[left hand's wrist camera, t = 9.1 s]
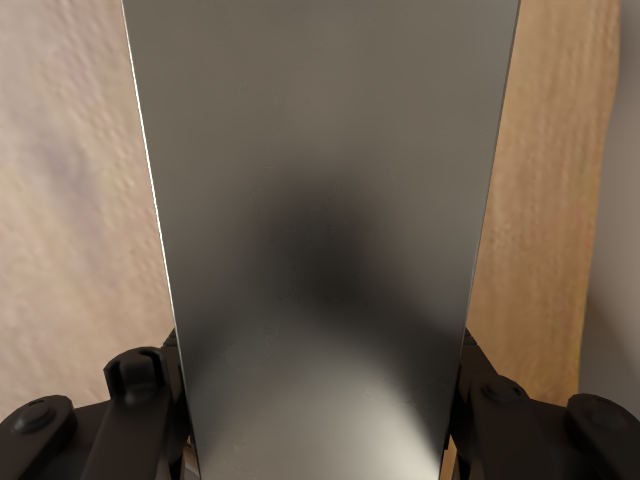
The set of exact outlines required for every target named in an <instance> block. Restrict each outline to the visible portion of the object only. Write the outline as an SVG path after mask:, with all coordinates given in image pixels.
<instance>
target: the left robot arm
mask: <svg viewBox="0 0 640 480" xmlns="http://www.w3.org/2000/svg"><path fill="white" fill-rule="evenodd" d="M103 371H104V374H105V378H106V382H107V386H108V389H109V393H110V397H111V399H110V400H108V401H105V402H101V403H97V404H93V405H89V406H85V407H80V408H76V409H74V407H73V404H72V401H71V400H70V399H69V398H68V397H66V396H61V395H53V396H46V397H42V398H39V399H36V400H34V401H31V402H29V403H27V404H25V405H24V406H22V407H20V408H18V409H17V410H15V411H14V412H13V413H12V414H10V415H9V416H8V417H7V418H5V419H4V420H3V422H2V423H1V424H0V480H200V476H199V470H198V464H197V458H196V452H195V446H194V440H193V434H192V428H191V422H190V416H189V410H188V404H187V398H186V392H185V386H184V380H183V374H182V368H181V362H180V356H179V350H178V344H177V338H176V332H175V327H174V329H173V330H172V332H171V333H170V335H169V338H167V339H166V341H165V342H164V344H163V347H161V348H156V347H139V348H135V349H131V350H128V351H126V352H124V353H122V354H119V355H118V356H116V357H115V358H114V359H112V360H111V361H109V362H108V364H107V365H106V367H105V368H104V369H103ZM450 434H451V436H452V439H453V441H454V444H455V446H456V448H457V453H456V458H455V464H454V469H453V474H452V480H640V422H639V421H638V420H637V419H636V418H635V417H634V416H633V415H632V414H631V413H629V412H628V411H627V410H626V409H624V408H623V407H621V406H619V405H618V404H616V403H614V402H612V401H610V400H608V399H605V398H602V397H600V396H597V395H591V394H584V393H583V394H576V395H573V396H572V397H571V398H570V399H569V400H568V403H567V406H566V407H562V406H557V405H553V404H549V403H545V402H540V401H537V400H533V399H530V398H529V396H528V395H527V393H526V392H525V390H524V389H523V388H522V387H521V386H519V385H518V384H517V383H516V382H514V381H512V380H510V379H508V378H506V377H504V376H501V375H498V373H497V372H496V371H495V369H494V368H493V366H492V365H491V363H490V362H489V360H488V359H487V357H486V356H485V354H484V353H483V351H482V350H481V348H480V347H479V345H477V343H476V341H475V340H474V338H473V337H471V334H470V332H469V331H468V329H467V328H466V327H465V333H464V338H463V344H462V350H461V356H460V362H459V368H458V374H457V380H456V385H455V391H454V397H453V403H452V409H451V415H450V421H449V427H448V432H447V438H446V444H445V450H448V445H449V439H450ZM189 435H190V440H191V446H192V448H190V447H188V446H187V445H186V442H187V440H188V437H189Z"/></svg>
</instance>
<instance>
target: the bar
mask: <svg viewBox="0 0 640 480" xmlns="http://www.w3.org/2000/svg"><path fill="white" fill-rule="evenodd" d="M520 4H521V0H121V6H122V12H123V18H124V24H125V30H126V36H127V42H128V49H129V55H130V61H131V67H132V73H133V79H134V85H135V91H136V97H137V103H138V109H139V115H140V121H141V127H142V133H143V139H144V145H145V151H146V157H147V163H148V169H149V175H150V181H151V187H152V193H153V199H154V205H155V211H156V217H157V223H158V229H159V235H160V241H161V247H162V253H163V259H164V265H165V271H166V278H167V284H168V290H169V296H170V302H171V308H172V314H173V320H174V326H175V332H176V338H177V344H178V350H179V356H180V362H181V368H182V374H183V380H184V386H185V392H186V398H187V404H188V410H189V416H190V422H191V428H192V434H193V440H194V446H195V452H196V458H197V464H198V470H199V476H200V480H439V479H440V473H441V468H442V462H443V456H444V450H445V444H446V438H447V432H448V427H449V421H450V415H451V409H452V403H453V397H454V391H455V385H456V380H457V374H458V368H459V362H460V356H461V350H462V344H463V338H464V333H465V327H466V321H467V315H468V309H469V303H470V297H471V291H472V286H473V280H474V274H475V268H476V262H477V256H478V250H479V245H480V239H481V233H482V227H483V221H484V215H485V209H486V203H487V198H488V192H489V186H490V180H491V174H492V168H493V162H494V156H495V151H496V145H497V139H498V133H499V127H500V121H501V115H502V109H503V104H504V98H505V92H506V86H507V80H508V74H509V68H510V63H511V57H512V51H513V45H514V39H515V33H516V27H517V21H518V16H519V10H520Z"/></svg>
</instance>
